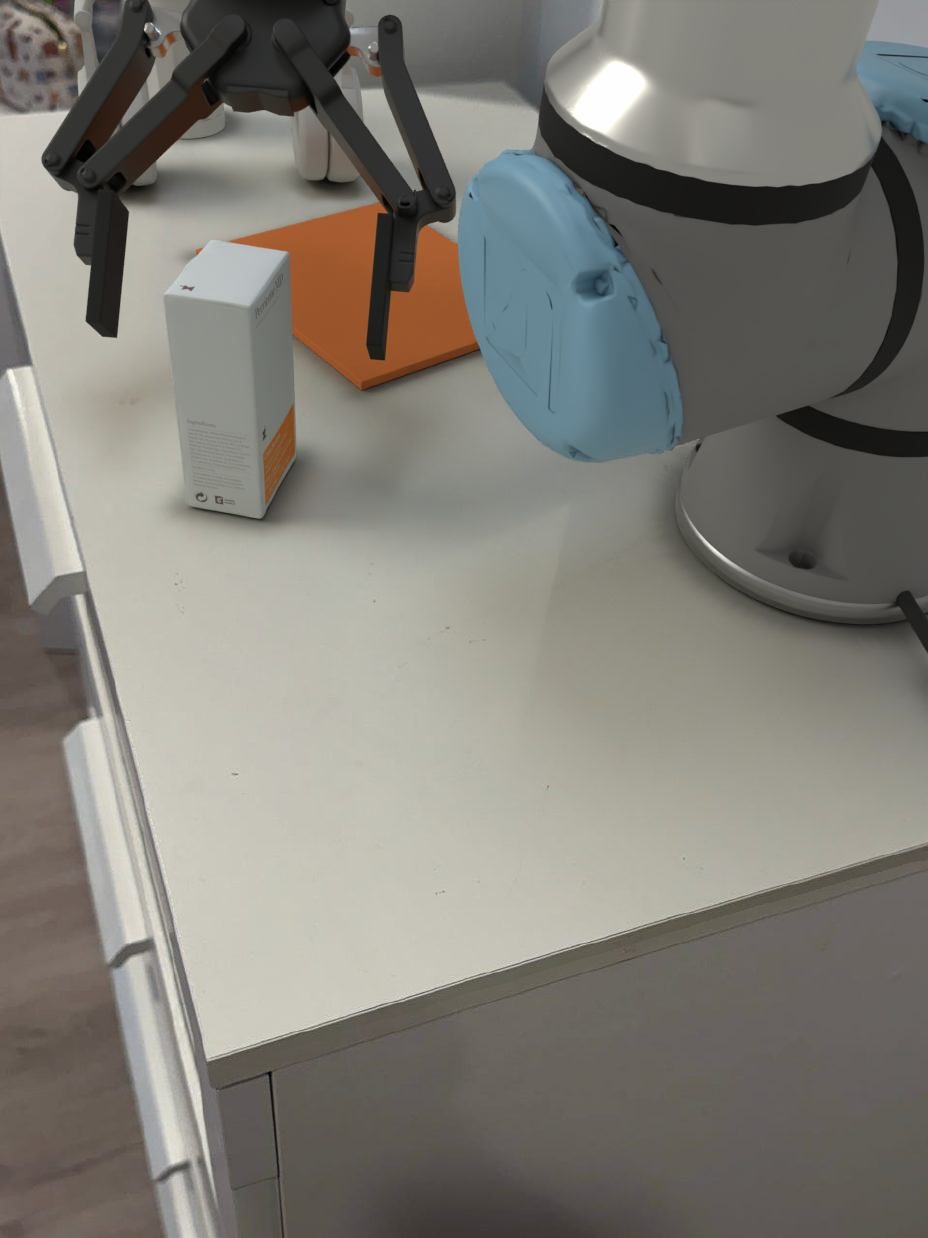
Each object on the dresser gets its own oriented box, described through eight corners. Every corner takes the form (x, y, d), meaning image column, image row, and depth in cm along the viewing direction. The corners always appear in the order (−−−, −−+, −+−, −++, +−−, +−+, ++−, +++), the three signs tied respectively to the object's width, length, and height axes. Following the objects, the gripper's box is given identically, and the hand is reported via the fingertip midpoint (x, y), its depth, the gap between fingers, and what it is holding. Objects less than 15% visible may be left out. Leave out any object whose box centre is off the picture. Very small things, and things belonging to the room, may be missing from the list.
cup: (226, 145, 95) (214, -18, 87) (127, 138, 95) (105, -26, 87) (242, 109, 101) (232, -47, 93) (149, 103, 101) (130, -55, 92)
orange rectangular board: (563, 320, 77) (564, 311, 77) (361, 390, 69) (361, 381, 69) (387, 207, 88) (387, 199, 88) (196, 257, 81) (195, 248, 80)
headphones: (92, 209, 85) (44, -97, 72) (93, 162, 91) (48, -129, 78) (366, 199, 89) (368, -92, 76) (350, 155, 95) (348, -122, 82)
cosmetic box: (265, 522, 60) (249, 308, 52) (185, 508, 60) (157, 293, 52) (301, 456, 64) (292, 248, 56) (226, 443, 65) (207, 235, 57)
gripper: (521, -13, 63) (488, 380, 62) (54, -53, 63) (15, 340, 62) (529, -105, 55) (492, 341, 54) (-1, -150, 55) (-46, 296, 54)
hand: (238, 342), depth 58 cm, fingers open, 13 cm apart
